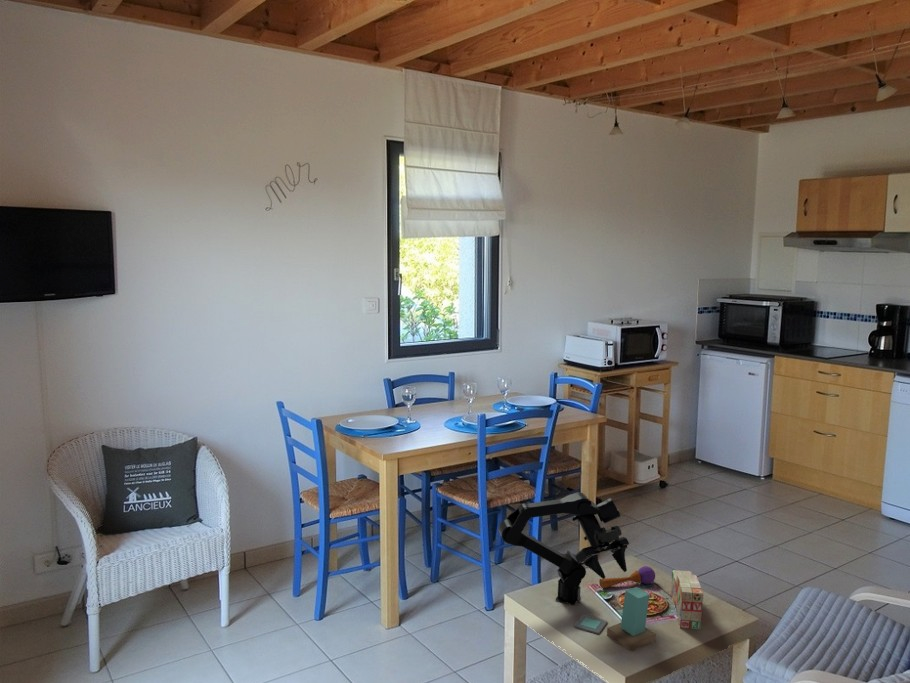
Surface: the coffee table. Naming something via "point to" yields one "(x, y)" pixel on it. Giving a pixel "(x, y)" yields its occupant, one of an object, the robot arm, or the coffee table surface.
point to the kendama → (631, 578)
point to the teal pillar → (635, 611)
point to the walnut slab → (630, 637)
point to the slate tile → (590, 624)
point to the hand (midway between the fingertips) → (615, 574)
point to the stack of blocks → (687, 599)
